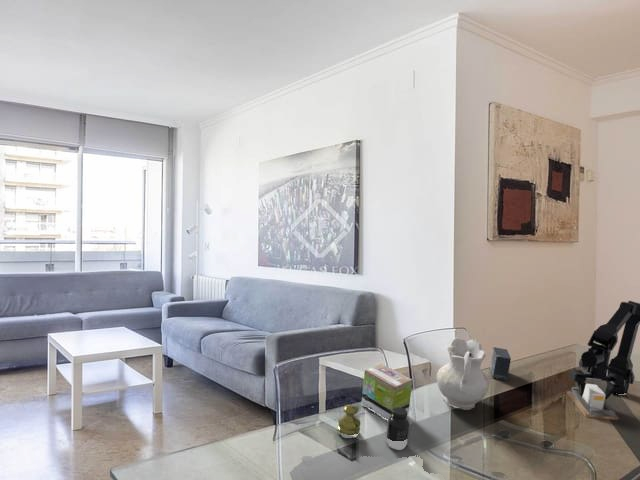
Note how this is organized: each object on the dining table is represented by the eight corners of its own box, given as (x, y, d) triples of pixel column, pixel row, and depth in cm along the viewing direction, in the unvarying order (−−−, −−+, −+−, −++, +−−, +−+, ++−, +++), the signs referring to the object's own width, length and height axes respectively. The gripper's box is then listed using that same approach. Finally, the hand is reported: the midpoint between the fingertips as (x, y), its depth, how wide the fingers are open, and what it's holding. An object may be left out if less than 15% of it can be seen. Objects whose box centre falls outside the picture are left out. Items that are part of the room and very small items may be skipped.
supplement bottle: (408, 441, 163) (412, 408, 160) (404, 453, 156) (409, 419, 154) (388, 436, 165) (391, 403, 163) (383, 447, 159) (387, 413, 156)
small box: (508, 381, 212) (511, 358, 210) (492, 378, 213) (495, 356, 211) (504, 370, 222) (507, 348, 220) (489, 368, 223) (492, 346, 221)
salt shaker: (332, 432, 165) (335, 405, 163) (347, 424, 170) (349, 397, 168) (349, 442, 160) (352, 414, 158) (364, 433, 165) (366, 406, 163)
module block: (593, 398, 199) (596, 384, 198) (602, 409, 191) (605, 394, 190) (582, 397, 199) (584, 383, 198) (590, 407, 191) (593, 393, 190)
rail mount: (596, 396, 204) (598, 389, 203) (618, 420, 186) (619, 413, 186) (566, 393, 205) (568, 386, 204) (585, 416, 187) (586, 409, 187)
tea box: (360, 406, 183) (363, 369, 180) (378, 398, 189) (382, 362, 186) (391, 425, 172) (395, 386, 169) (409, 416, 178) (413, 378, 175)
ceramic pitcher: (492, 424, 179) (507, 360, 175) (439, 416, 179) (453, 352, 174) (475, 394, 200) (488, 337, 196) (427, 387, 200) (439, 330, 195)
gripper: (615, 354, 199) (608, 390, 202) (567, 350, 200) (560, 385, 203) (629, 367, 188) (621, 404, 191) (578, 361, 190) (571, 398, 193)
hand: (593, 397), depth 195 cm, fingers open, 9 cm apart
